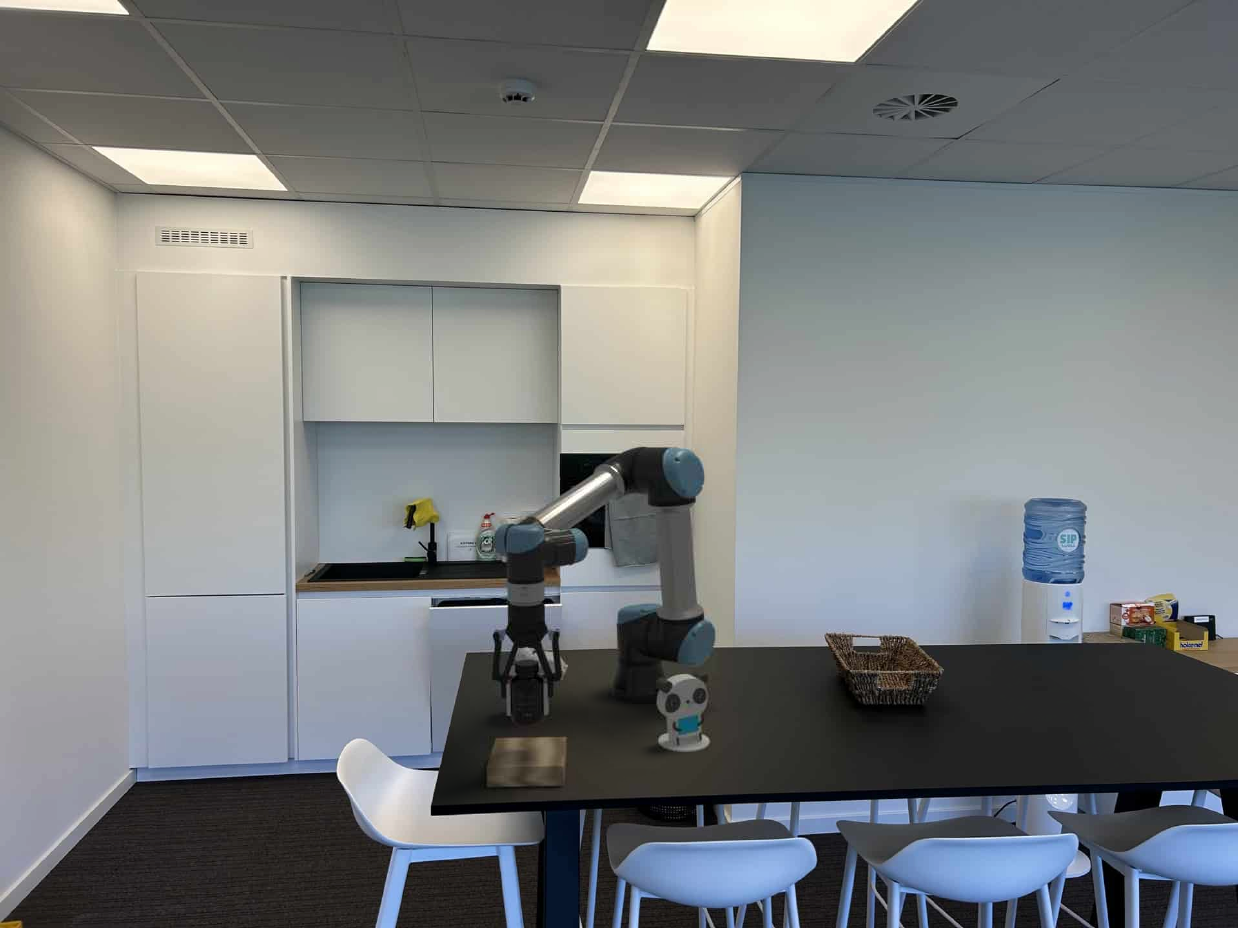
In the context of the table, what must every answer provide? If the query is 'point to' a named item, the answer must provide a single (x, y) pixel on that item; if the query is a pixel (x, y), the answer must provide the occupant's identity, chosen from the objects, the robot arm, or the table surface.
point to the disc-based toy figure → (683, 711)
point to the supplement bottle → (527, 693)
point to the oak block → (527, 762)
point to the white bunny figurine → (527, 655)
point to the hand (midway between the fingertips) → (527, 712)
